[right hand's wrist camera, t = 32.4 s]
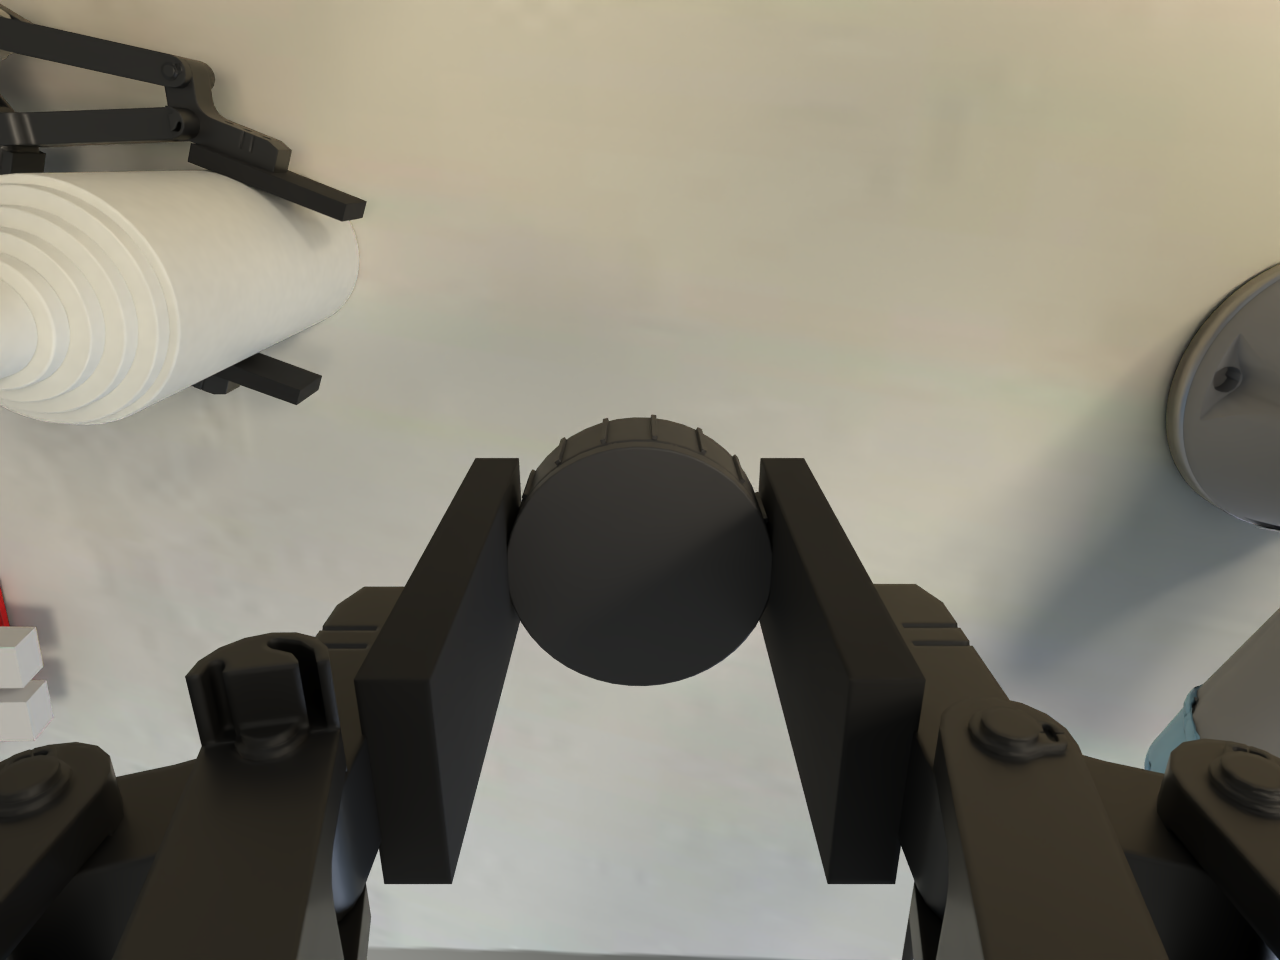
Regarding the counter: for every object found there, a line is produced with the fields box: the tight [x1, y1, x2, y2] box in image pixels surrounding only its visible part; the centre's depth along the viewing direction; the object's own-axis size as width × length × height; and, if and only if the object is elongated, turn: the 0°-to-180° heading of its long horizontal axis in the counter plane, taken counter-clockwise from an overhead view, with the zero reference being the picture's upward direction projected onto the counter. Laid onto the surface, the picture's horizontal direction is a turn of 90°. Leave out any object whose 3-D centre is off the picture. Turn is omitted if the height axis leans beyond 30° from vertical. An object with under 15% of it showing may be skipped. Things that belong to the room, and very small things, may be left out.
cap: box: [507, 415, 772, 686], centre depth 14 cm, size 4×4×2 cm
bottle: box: [0, 170, 359, 425], centre depth 32 cm, size 8×8×23 cm
